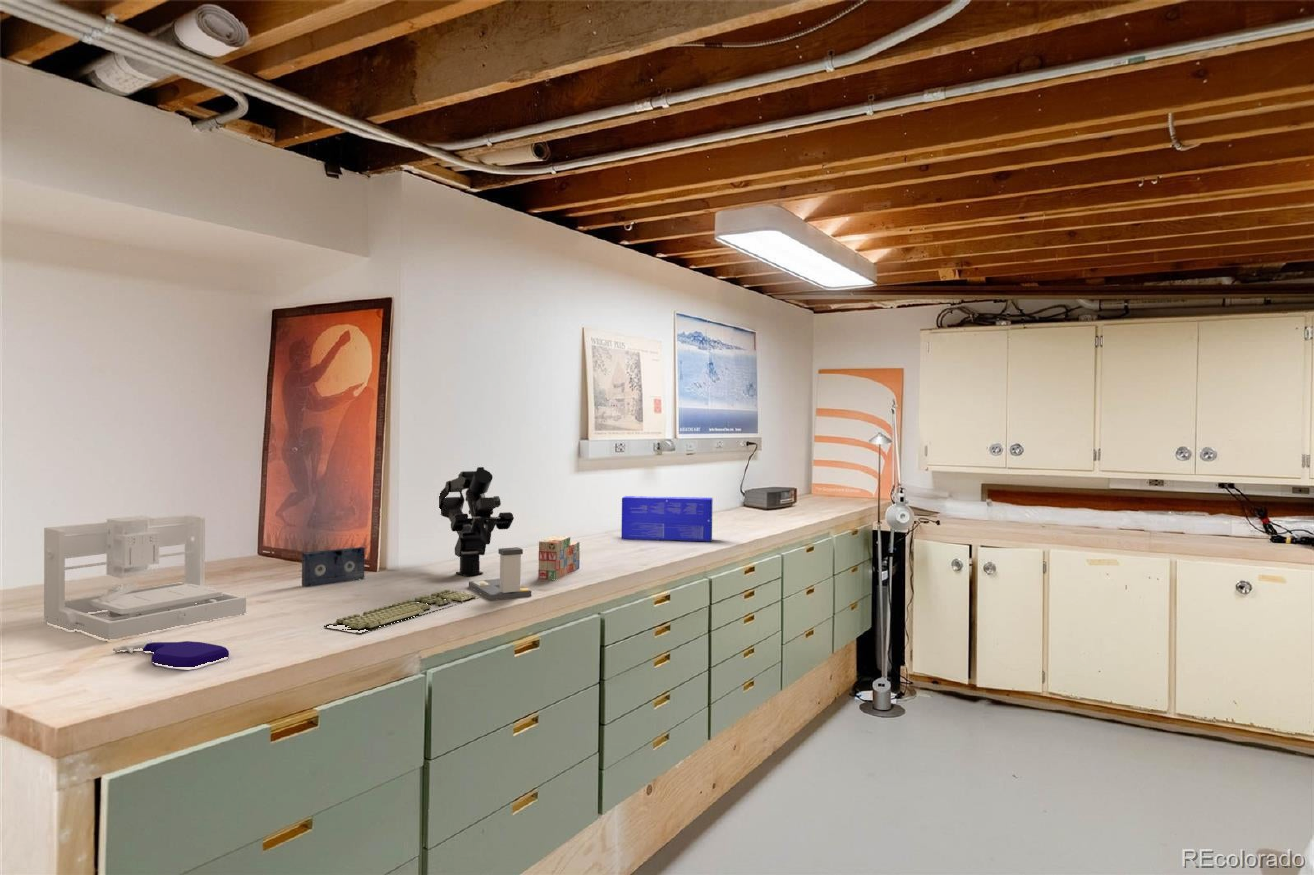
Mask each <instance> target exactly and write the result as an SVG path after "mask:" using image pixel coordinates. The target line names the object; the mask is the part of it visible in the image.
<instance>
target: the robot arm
mask: <svg viewBox="0 0 1314 875" xmlns="http://www.w3.org/2000/svg"><path fill="white" fill-rule="evenodd" d="M457 476H458V477H457V478H454V479H451V480H448V481H447V480H446V482H445V485H444V487H443V489H442V490H441V491H440V492H441V493H440V492H439V493H440V496H439V508H440V509H441V514H440V515H441V516H442V517H444V518H447V519H448V520H449V521H450V530H451V532H456V533H457V536H458V539H457V541H456V544H455V545H454V555H455V556H456V557H458V558H459V571H455V574H456V575H460V576H464V577H470V576H476V575H483V574H484V571H480V569H481V568H480V564H481V563H480V556H485V554H486V548H487V545H490V544H491V538H492V532H493V531H494V529H495V528H496V529H498V530H508V529H510V528H511V525H512V524H513V521H514V519H515V518H514V514H513V513H512V512H507V511H506V512H503V511H502V512H499V514H498V516H491V515H493V514H494V510H495V509H496V508H500V507H501V504H502V502H501V499H500V498H501V497H500V496H498V495H495V496H494V495H493V497H486V493H488V490H489V488H490V485H491V483H492V480H493V474H492V473H491V472H490V471H489V470H486V469H485V467H483V466H478V467H477V468H476V470H467V471H466V470H465V471H464V470H463V471H461V472H460V473H459V474H458V475H457ZM464 490H466V491H465V497H464V495H463V491H464ZM450 493H459V494H460V495H459V496H449V494H450ZM445 497H446V498H445ZM465 501H466V502H467V505H468V509H469V510H468V513H464V512H463V508H464V503H465ZM469 515H470V516H471V518H470V517H469Z"/></svg>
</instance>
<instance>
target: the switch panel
mask: <svg viewBox="0 0 1314 875" xmlns="http://www.w3.org/2000/svg"><path fill="white" fill-rule="evenodd" d="M468 587H469V588H470V589H472V590H473V589H474V590H473V591H475V592H477V593H478V594H480V593H481V594H480V595H481V596H484V597H485V598H487V599H488V598H489V599H488V600H489V601H497V600H496V599H499V600H505V599H504V598H508V599H514V598H515V599H516V598H525V597H526V598H527V597H532V590H531V589H530V588H527V587H525V586H523V585H522V584H520V591H517V592H507V593H503V592H501V591H500V578H494V579H492V578H491V579H482V580H472V581H468Z"/></svg>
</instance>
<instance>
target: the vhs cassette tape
mask: <svg viewBox="0 0 1314 875" xmlns="http://www.w3.org/2000/svg"><path fill="white" fill-rule="evenodd" d="M301 554H302V555H301V586H302V587H304V588H310V587H317V586H318V587H319V586H325V585H331V584H339V583H345V582H353V581H354V582H355V581H360V580H359V579H361V580H365V575H366V574H365V558H366V557H365V547H363V546H360V547H350V548H348V547H346V548H339V549H328V550H327V549H326V550H318V551H309V552H308V551H307V552H302V553H301Z"/></svg>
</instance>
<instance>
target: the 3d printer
mask: <svg viewBox="0 0 1314 875" xmlns="http://www.w3.org/2000/svg"><path fill="white" fill-rule="evenodd" d="M43 530H44V531H43V532H44V534H43V535H44V539H43V542H44V544H43V546H44V547H43V550H44V551H43V560H44V562H43V568H44V569H43V574H44V575H43V587H44V588H43V616H44V620H45V623H46V622H48V623H50V624H53V625H57V626H60V627H63V628H66V629H68V630H74V629H77V630H82V631H84V632H87V633H89V634H92V635H96V636H98V637H101V638H104V639H108V640H110V639H119V638H123V637H127V636H132V635H139V634H143V633H148V632H152V631H156V630H163V629H167V628H171V627H175V626H180V625H189V624H193V623H197V622H201V621H210V620H213V619H218V618H223V617H228V616H236V615H240V614H244V613H246V614H247V597H246V596H243V595H238V594H233V593H229V592H226V591H223V590H220V589H217V588H216V589H215V588H213V587H211V586H208V585H207V586H206V585H205V577H206V574H205V572H206V571H205V568H206V567H205V564H206V560H205V557H206V555H205V554H206V553H205V552H206V551H205V550H206V544H205V543H206V541H205V540H206V539H205V538H206V517H205V516H202V515H201V516H200V515H193V514H182V515H173V516H171V515H170V516H162V517H161V516H159V517H147V516H143V515H136V516H126V517H125V516H124V517H114V518H107V519H106V522H105V521H104V522H95V523H84V524H72V525H61V526H60V525H59V526H51V527H44V528H43ZM179 545H180V546H181V545H184V551H181V552H172V553H166V554H165V553H164V554H160V548H164V547H165V548H166V547H172V546H179ZM105 554H106V561H103V562H96V563H87V564H79V565H74V566H73V565H72V566H66V559H71V558H72V559H74V558H82V557H90V556H97V555H105ZM181 555H182V556H183V555H184V582H182V581H179V582H174V583H167V584H160V585H154V586H147V587H142V588H138V586H139V583H140V582H139V581H137V580H134V581H131V582H130V583H127V584H125V585H123V583H119V584H115V585H114V586H113V587H112V588H109V589H108V590H107V593H104V594H103V593H102V594H98V595H91V596H85V597H80V598H72V599H69V600H68V599H66V597H65V595H66V589H65V588H66V586H65V585H66V571H67V570H74V569H83V568H89V567H97V566H104V565H105V566H106V575H107V576H111V577H115V578H118V579H125V578H131V577H138V576H147V575H154V574H156V568H153V567H149V566H150V565H157V564H158V565H159V564H160V558H165V557H166V558H167V557H174V556H181ZM65 566H66V567H65ZM195 603H197V604H195ZM102 610H108V612H107V616H108V617H109V618H111V619H115V618H120V617H125V616H126V618H122V619H119V620H118V619H117V620H113V621H112V620H109V619H106V618H102V617H99V616H96V615H94V614H93V615H90V614H87V613H88V612H97V611H102ZM236 617H237V616H236Z"/></svg>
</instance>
